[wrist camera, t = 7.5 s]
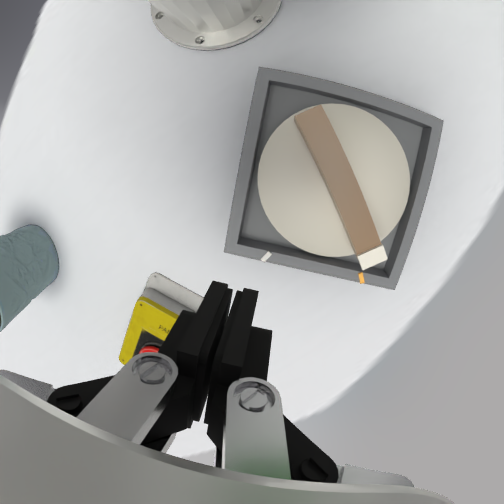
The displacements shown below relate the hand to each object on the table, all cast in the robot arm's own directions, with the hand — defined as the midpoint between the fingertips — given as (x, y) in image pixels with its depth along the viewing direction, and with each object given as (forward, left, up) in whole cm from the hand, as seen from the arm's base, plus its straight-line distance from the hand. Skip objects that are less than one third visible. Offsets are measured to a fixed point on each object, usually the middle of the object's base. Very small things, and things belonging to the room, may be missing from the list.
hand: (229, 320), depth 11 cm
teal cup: (+12, -29, -19) cm, 36 cm away
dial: (-4, +5, -17) cm, 18 cm away
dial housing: (-4, +5, -18) cm, 19 cm away
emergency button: (+17, -8, -19) cm, 27 cm away
